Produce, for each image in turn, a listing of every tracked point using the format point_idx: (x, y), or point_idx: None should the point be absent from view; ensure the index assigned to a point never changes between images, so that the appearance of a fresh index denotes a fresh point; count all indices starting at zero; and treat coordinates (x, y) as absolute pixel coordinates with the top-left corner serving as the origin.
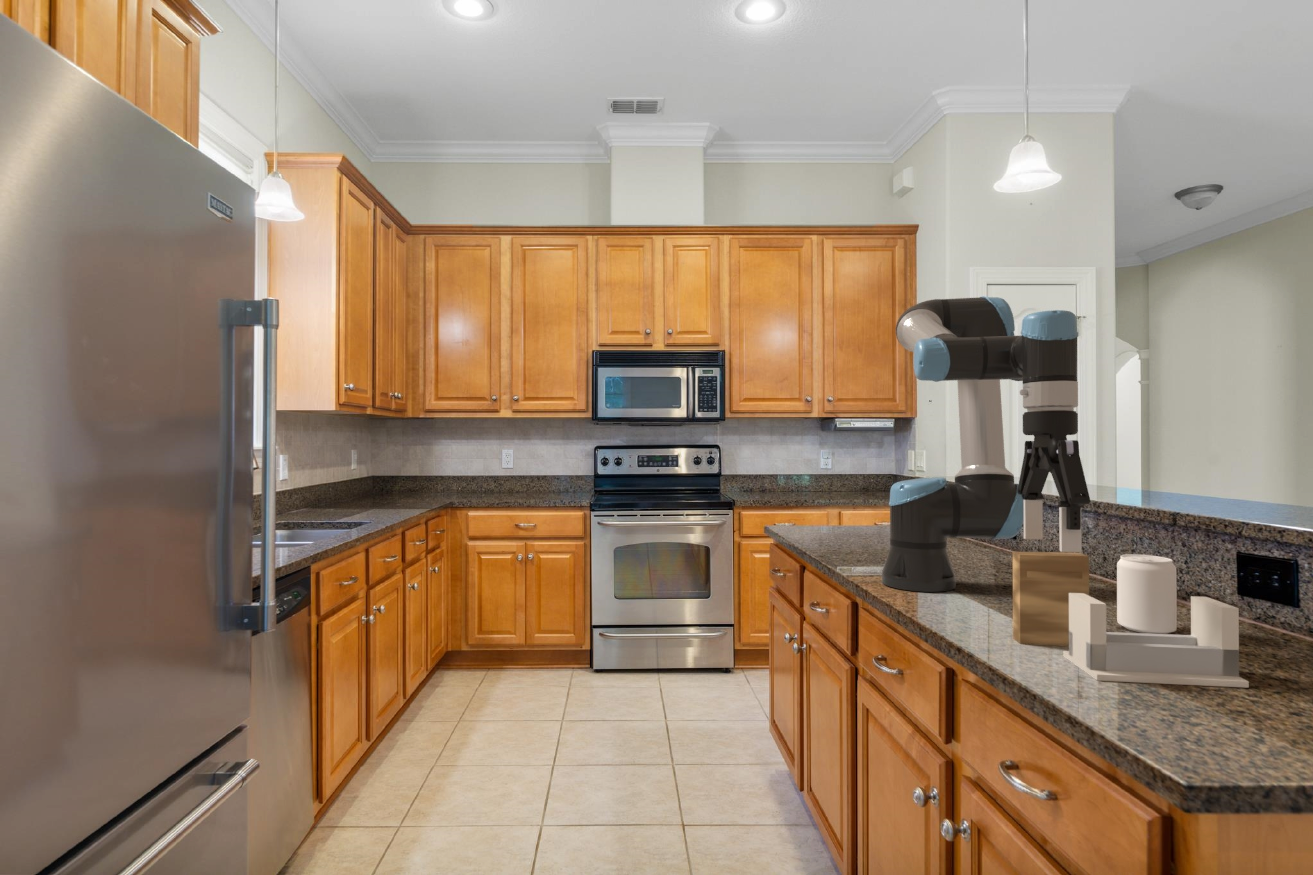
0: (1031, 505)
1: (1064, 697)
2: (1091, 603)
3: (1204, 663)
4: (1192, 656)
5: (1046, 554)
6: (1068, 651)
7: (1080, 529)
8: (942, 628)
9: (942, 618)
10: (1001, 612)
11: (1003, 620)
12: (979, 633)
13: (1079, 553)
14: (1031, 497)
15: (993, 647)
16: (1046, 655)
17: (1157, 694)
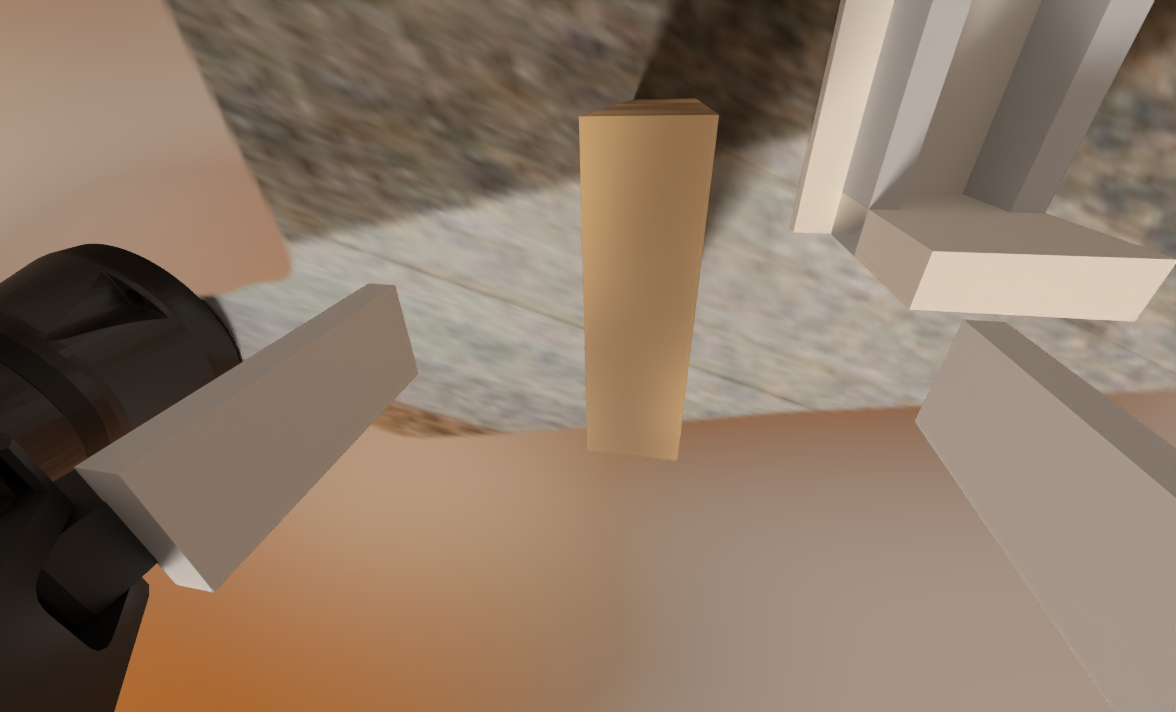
0: (234, 508)
1: (1083, 361)
2: (1135, 315)
3: None
4: None
5: (659, 348)
6: (802, 221)
7: (1143, 436)
8: (567, 409)
9: (480, 383)
10: (363, 219)
11: (453, 247)
12: None
13: (601, 129)
14: (105, 560)
15: (710, 362)
16: (778, 268)
17: (1172, 114)
